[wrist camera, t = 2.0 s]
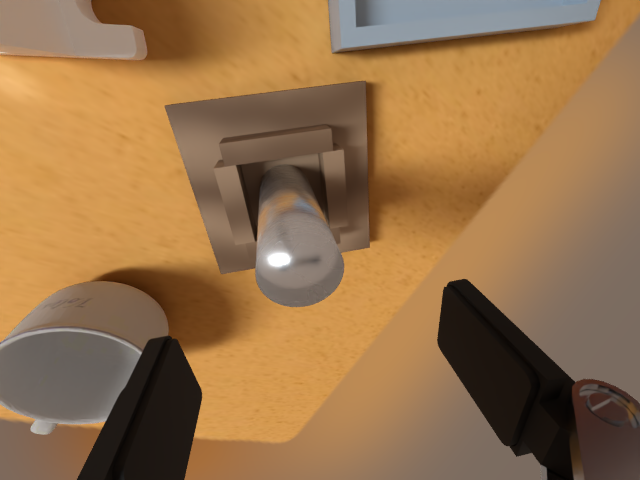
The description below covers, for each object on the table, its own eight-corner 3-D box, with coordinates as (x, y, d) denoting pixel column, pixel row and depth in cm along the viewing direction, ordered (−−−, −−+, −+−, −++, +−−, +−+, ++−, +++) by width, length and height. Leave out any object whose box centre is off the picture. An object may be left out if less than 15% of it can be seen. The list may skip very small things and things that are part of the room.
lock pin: (254, 168, 22) (246, 241, 12) (306, 160, 23) (341, 225, 12) (265, 215, 24) (265, 314, 14) (312, 207, 25) (346, 298, 14)
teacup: (102, 242, 25) (38, 304, 18) (204, 309, 30) (185, 378, 23) (8, 332, 27) (-80, 417, 20) (117, 379, 32) (76, 461, 25)
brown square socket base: (170, 104, 21) (151, 108, 17) (359, 81, 22) (377, 80, 18) (223, 265, 27) (217, 291, 24) (364, 240, 29) (378, 261, 25)
